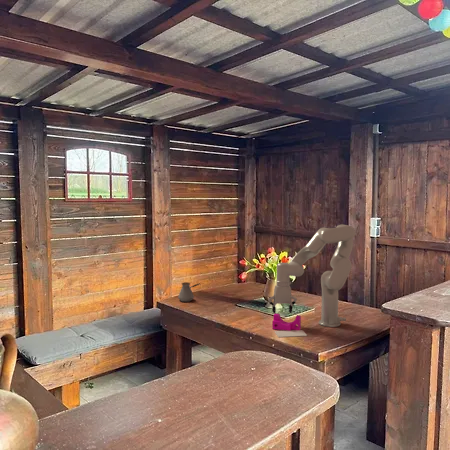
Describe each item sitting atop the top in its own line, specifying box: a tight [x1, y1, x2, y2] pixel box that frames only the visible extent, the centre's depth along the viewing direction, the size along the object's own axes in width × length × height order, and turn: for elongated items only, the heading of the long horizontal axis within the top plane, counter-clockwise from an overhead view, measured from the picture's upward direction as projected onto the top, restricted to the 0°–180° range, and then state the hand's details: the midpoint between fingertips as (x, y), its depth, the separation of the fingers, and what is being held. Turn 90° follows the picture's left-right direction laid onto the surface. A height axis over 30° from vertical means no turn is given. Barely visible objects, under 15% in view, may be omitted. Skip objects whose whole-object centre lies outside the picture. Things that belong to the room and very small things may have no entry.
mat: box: [274, 329, 308, 338], centre depth 221 cm, size 16×9×1 cm, turn 97°
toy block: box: [271, 313, 302, 331], centre depth 229 cm, size 15×6×8 cm, turn 69°
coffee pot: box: [178, 281, 201, 303], centre depth 289 cm, size 21×12×15 cm, turn 45°
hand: (282, 312), depth 236 cm, fingers open, 9 cm apart
